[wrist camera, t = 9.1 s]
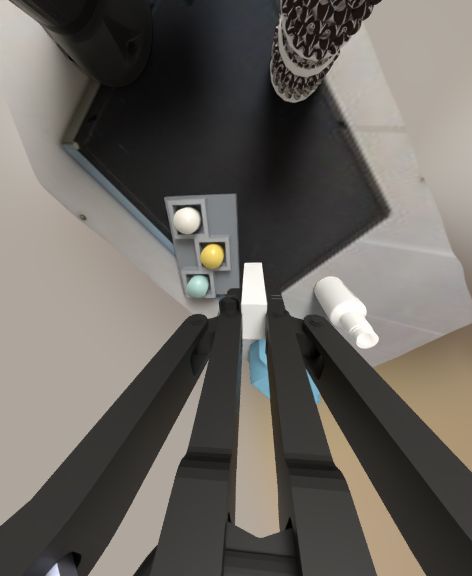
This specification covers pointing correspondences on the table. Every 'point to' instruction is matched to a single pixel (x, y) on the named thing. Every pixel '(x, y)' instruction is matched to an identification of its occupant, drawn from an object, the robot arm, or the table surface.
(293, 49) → the decorative candle
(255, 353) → the container
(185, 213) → the button ivory
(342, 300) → the spray bottle
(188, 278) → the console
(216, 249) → the button mustard
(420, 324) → the table surface
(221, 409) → the robot arm
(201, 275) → the button teal
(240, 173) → the table surface
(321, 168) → the table surface
